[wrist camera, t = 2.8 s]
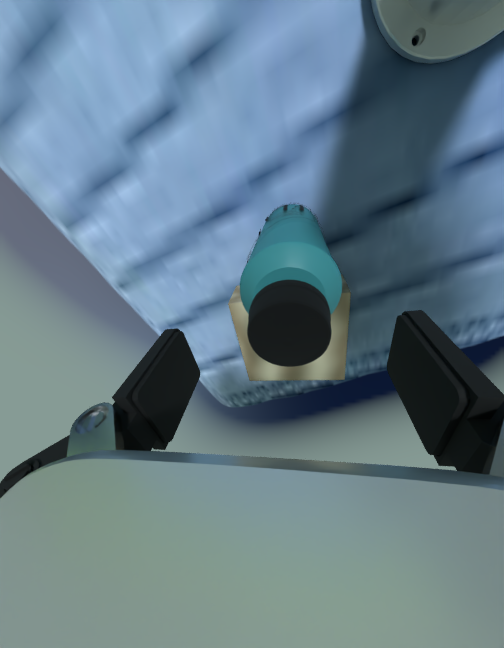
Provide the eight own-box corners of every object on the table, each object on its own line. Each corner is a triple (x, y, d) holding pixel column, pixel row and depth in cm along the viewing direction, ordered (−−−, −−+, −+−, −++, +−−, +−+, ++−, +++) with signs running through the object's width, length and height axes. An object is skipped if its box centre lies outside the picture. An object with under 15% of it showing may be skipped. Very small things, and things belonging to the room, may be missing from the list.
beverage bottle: (310, 189, 23) (352, 240, 7) (324, 249, 26) (376, 377, 10) (254, 215, 25) (188, 298, 9) (273, 267, 29) (250, 395, 13)
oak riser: (342, 274, 28) (350, 292, 24) (338, 355, 36) (344, 379, 32) (236, 285, 31) (228, 303, 27) (254, 358, 39) (249, 380, 35)
